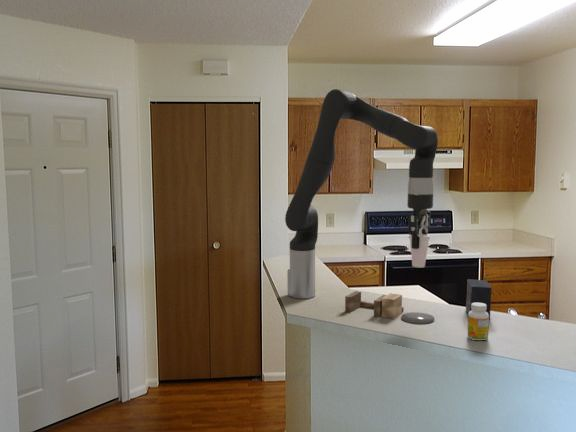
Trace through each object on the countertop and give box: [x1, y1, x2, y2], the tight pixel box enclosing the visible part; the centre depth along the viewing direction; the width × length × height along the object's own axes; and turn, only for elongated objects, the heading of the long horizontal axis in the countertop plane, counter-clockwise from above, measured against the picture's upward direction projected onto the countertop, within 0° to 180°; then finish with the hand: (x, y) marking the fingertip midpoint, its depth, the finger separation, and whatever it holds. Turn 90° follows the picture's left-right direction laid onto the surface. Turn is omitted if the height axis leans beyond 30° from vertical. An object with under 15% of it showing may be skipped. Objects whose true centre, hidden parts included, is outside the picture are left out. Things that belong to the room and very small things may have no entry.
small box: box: [465, 278, 492, 321], centre depth 171 cm, size 11×6×10 cm, turn 168°
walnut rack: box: [344, 290, 405, 319], centre depth 175 cm, size 16×9×6 cm, turn 58°
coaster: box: [401, 311, 435, 325], centre depth 168 cm, size 10×10×1 cm
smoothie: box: [408, 230, 431, 269], centre depth 165 cm, size 6×6×14 cm
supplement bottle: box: [467, 302, 490, 341], centre depth 149 cm, size 5×5×10 cm
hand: (419, 246), depth 165 cm, fingers closed on smoothie, 6 cm apart
